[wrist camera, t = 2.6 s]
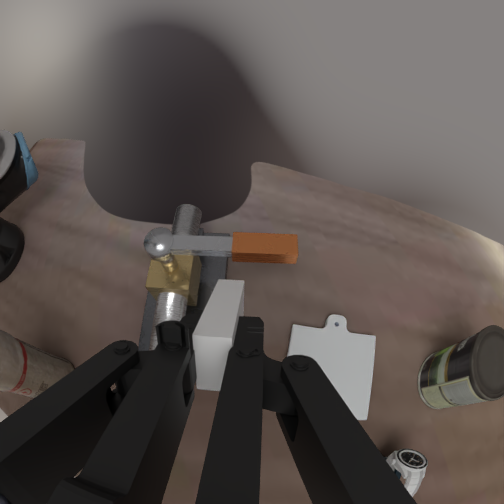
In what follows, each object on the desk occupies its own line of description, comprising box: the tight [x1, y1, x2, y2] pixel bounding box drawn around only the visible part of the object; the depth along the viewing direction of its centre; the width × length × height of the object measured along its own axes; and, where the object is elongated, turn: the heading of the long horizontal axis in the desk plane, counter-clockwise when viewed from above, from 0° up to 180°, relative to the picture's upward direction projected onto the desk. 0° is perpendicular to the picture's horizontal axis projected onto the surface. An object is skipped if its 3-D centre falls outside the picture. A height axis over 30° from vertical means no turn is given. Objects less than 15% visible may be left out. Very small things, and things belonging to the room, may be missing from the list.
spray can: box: [0, 330, 75, 398], centre depth 26 cm, size 8×8×20 cm
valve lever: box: [144, 228, 298, 264], centre depth 30 cm, size 17×3×2 cm, turn 88°
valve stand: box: [138, 204, 230, 351], centre depth 37 cm, size 22×12×14 cm, turn 178°
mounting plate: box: [287, 314, 376, 420], centre depth 36 cm, size 18×13×2 cm
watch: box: [384, 449, 428, 497], centre depth 24 cm, size 6×8×11 cm
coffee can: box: [418, 325, 504, 409], centre depth 29 cm, size 10×10×14 cm
